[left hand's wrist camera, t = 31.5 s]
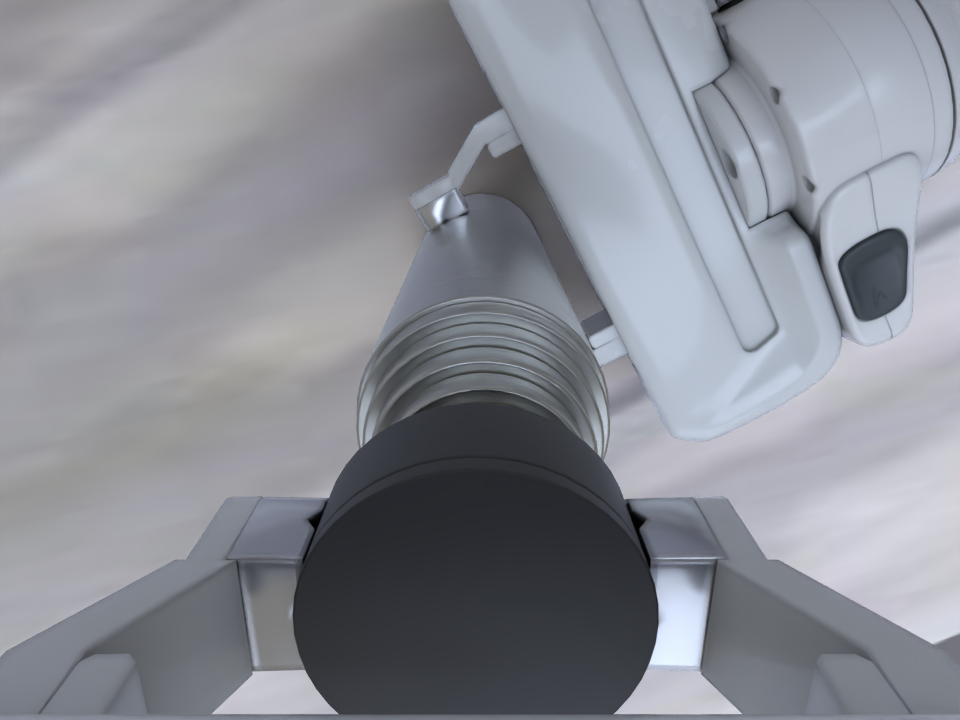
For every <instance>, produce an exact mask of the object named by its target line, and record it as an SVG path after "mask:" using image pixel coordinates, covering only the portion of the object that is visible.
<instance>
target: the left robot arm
mask: <svg viewBox="0 0 960 720" xmlns="http://www.w3.org/2000/svg"><path fill="white" fill-rule="evenodd" d="M328 500H329V498H293V497H264V498H263V497H261V496H258V497H231V498H227V499H226V500H225V501H224V503H223V504H222V506H221V507H220V509H219V510H218V512H217V513H216V515H215V516H214V518H213V519H212V521H211V522H210V524H209V525H208V527H207V528H206V530H205V531H204V533H203V535H202V536H201V538H200V539H199V541H198V542H197V544H196V545H195V547H194V548H193V550H192V551H191V553H190V554H189V556H188V557H187V559H186V560H174V561H172V562H170V563H169V564H167V565H165V566H163V567H161V568H159V569H158V570H156V571H154V572H152V573H150V574H148V575H146V576H145V577H143V578H141V579H139V580H137V581H135V582H133V583H132V584H130V585H128V586H126V587H124V588H122V589H120V590H119V591H117V592H115V593H113V594H111V595H109V596H108V597H106V598H104V599H102V600H100V601H98V602H96V603H95V604H93V605H91V606H89V607H87V608H85V609H83V610H82V611H80V612H78V613H76V614H74V615H72V616H70V617H69V618H67V619H65V620H63V621H61V622H59V623H57V624H56V625H54V626H52V627H50V628H48V629H46V630H45V631H43V632H41V633H39V634H37V635H35V636H33V637H32V638H30V639H28V640H26V641H24V642H22V643H20V644H19V645H17V646H15V647H13V648H11V649H9V650H7V651H6V652H5V653H4V654H3V655H2V657H1V658H0V720H960V667H959V666H958V665H957V663H956V662H955V661H954V660H953V659H952V658H951V656H950V655H949V654H948V653H947V652H946V651H944V650H942V649H940V648H938V647H936V646H935V645H933V644H931V643H929V642H927V641H925V640H924V639H922V638H920V637H918V636H916V635H914V634H913V633H911V632H909V631H907V630H905V629H904V628H902V627H900V626H898V625H896V624H894V623H893V622H891V621H889V620H887V619H885V618H883V617H882V616H880V615H878V614H876V613H874V612H872V611H871V610H869V609H867V608H865V607H863V606H861V605H860V604H858V603H856V602H854V601H852V600H850V599H849V598H847V597H845V596H843V595H841V594H840V593H838V592H836V591H834V590H832V589H830V588H829V587H827V586H825V585H823V584H821V583H819V582H818V581H816V580H814V579H812V578H810V577H808V576H807V575H805V574H803V573H801V572H799V571H797V570H796V569H794V568H792V567H790V566H788V565H786V564H785V563H783V562H781V561H779V560H767V558H766V557H765V555H764V554H763V552H762V550H761V549H760V547H759V546H758V544H757V543H756V541H755V540H754V538H753V537H752V535H751V534H750V532H749V531H748V529H747V528H746V526H745V525H744V523H743V521H742V520H741V518H740V517H739V515H738V514H737V512H736V511H735V509H734V508H733V506H732V505H731V503H730V502H729V500H728V499H727V498H725V497H723V496H715V497H687V498H647V499H624V501H625V504H626V506H627V509H628V512H629V515H630V517H631V520H632V523H633V525H634V528H635V531H636V534H637V536H638V539H639V542H640V545H641V547H642V550H643V553H644V555H645V558H646V561H647V564H648V566H649V569H650V572H651V575H652V578H653V580H654V583H655V587H656V593H657V598H658V604H659V626H658V632H657V639H656V644H655V648H654V651H653V654H652V657H651V660H650V663H649V665H648V667H647V669H646V670H673V671H702V672H701V674H702V675H703V676H704V677H705V678H706V679H707V680H708V681H709V682H710V683H711V684H712V685H713V686H714V687H715V688H716V689H717V690H718V691H719V692H720V693H721V694H722V695H723V696H724V697H726V698H727V699H728V700H729V701H730V702H731V703H732V704H733V705H734V706H735V707H736V708H737V709H738V710H739V711H740V712H741V713H742V714H212V713H213V712H214V711H215V710H216V709H217V708H218V707H219V706H220V705H221V704H222V703H223V702H224V701H225V700H226V699H227V698H228V697H229V696H231V695H232V694H233V693H234V692H235V691H236V690H237V689H238V688H239V687H240V686H241V685H242V684H243V683H244V682H245V681H246V680H247V679H248V678H249V677H250V676H252V671H279V670H305V668H304V665H303V663H302V661H301V658H300V656H299V653H298V649H297V645H296V641H295V637H294V628H293V616H292V614H293V602H294V594H295V590H296V586H297V582H298V578H299V575H300V572H301V569H302V567H303V564H304V562H305V559H306V556H307V554H308V551H309V549H310V546H311V544H312V541H313V538H314V536H315V533H316V531H317V528H318V525H319V523H320V520H321V518H322V515H323V512H324V510H325V507H326V505H327V502H328Z"/></svg>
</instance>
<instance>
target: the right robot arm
mask: <svg viewBox="0 0 960 720" xmlns="http://www.w3.org/2000/svg"><path fill="white" fill-rule="evenodd" d="M448 1H449V4H450V7H451V9H452V11H453V13H454V15H455V17H456V19H457V21H458V23H459V25H460V27H461V29H462V31H463V33H464V35H465V37H466V39H467V41H468V43H469V44H470V46H471V48H472V50H473V52H474V54H475V56H476V58H477V60H478V62H479V64H480V66H481V68H482V70H483V72H484V74H485V76H486V78H487V80H488V82H489V84H490V86H491V88H492V90H493V92H494V94H495V96H496V98H497V99H498V101H499V103H500V105H501V107H502V108H501V109H499V110H498V111H496V112H494V113H492V114H491V115H489V116H487V117H486V118H484V119H482V120H481V121H479V122H477V123H476V124H475V125H474V126H473V128H472V130H471V132H470V133H469V135H468V137H467V139H466V140H465V142H464V144H463V146H462V147H461V149H460V151H459V153H458V154H457V156H456V158H455V160H454V161H453V163H452V165H451V167H450V168H449V170H448V172H447V173H448V174H446V175H444V176H442V177H441V178H439V179H437V180H436V181H434V182H432V183H430V184H429V185H427V186H425V187H423V188H422V189H420V190H418V191H417V192H415V193H414V194H413V195H411V196H410V197H409V198H408V199H409V201H410V203H411V205H412V207H413V208H414V210H415V212H416V213H417V215H418V216H419V218H420V220H421V221H422V223H423V225H424V226H425V228H426V230H427V231H428V232H430V231H432V230H435V229H436V228H438V227H439V226H440V225H442V224H443V222H444V220H445V219H453V218H455V217H458V216H460V215H461V214H463V213H465V212H467V211H468V208H467V207H468V203H467V202H466V200H465V198H464V196H463V194H462V192H461V190H460V187H461V186H462V184H463V182H464V180H465V179H466V177H467V175H468V174H469V172H470V170H471V168H472V167H473V165H474V163H475V162H476V160H477V158H478V156H479V155H480V153H481V151H482V150H483V148H484V146H485V145H487V147H488V150H489V152H490V153H491V155H492V157H495V158H497V157H499V156H501V155H503V154H504V153H506V152H508V151H510V150H512V149H513V148H515V147H517V146H519V145H521V147H522V149H523V151H524V153H525V155H526V156H527V158H528V160H529V162H530V164H531V166H532V168H533V170H534V172H535V174H536V176H537V178H538V180H539V182H540V184H541V186H542V188H543V190H544V192H545V194H546V196H547V198H548V200H549V202H550V204H551V206H552V208H553V210H554V212H555V213H556V215H557V217H558V219H559V221H560V223H561V225H562V227H563V229H564V231H565V233H566V235H567V237H568V239H569V241H570V243H571V245H572V247H573V249H574V251H575V253H576V255H577V257H578V259H579V261H580V263H581V265H582V267H583V269H584V270H585V272H586V274H587V276H588V278H589V280H590V282H591V284H592V286H593V288H594V290H595V292H596V294H597V296H598V298H599V300H600V302H601V304H602V306H603V308H604V310H603V311H601V312H599V313H597V314H595V315H593V316H591V317H590V318H588V319H586V320H584V321H582V324H581V325H582V327H583V329H584V331H585V333H586V334H585V335H586V337H587V339H588V342H589V344H590V346H591V348H592V350H593V352H594V354H595V356H596V358H597V361H598V363H599V365H600V366H603V365H605V364H607V363H609V362H611V361H613V360H615V359H617V358H620V357H622V356H624V355H626V354H627V355H628V357H629V359H630V361H631V363H632V365H633V367H634V369H635V371H636V373H637V375H638V377H639V379H640V381H641V383H642V384H643V386H644V388H645V390H646V392H647V394H648V396H649V398H650V400H651V402H652V404H653V406H654V408H655V410H656V412H657V414H658V416H659V417H660V419H661V421H662V423H663V425H664V426H665V428H666V429H667V431H668V432H669V434H670V435H671V436H672V437H674V438H677V439H682V440H689V441H698V442H703V441H708V440H712V439H715V438H717V437H719V436H722V435H724V434H726V433H729V432H731V431H733V430H735V429H737V428H739V427H741V426H743V425H745V424H747V423H749V422H751V421H753V420H755V419H757V418H759V417H761V416H762V415H764V414H766V413H768V412H770V411H772V410H773V409H775V408H777V407H779V406H781V405H782V404H784V403H786V402H787V401H789V400H791V399H793V398H794V397H796V396H798V395H799V394H801V393H802V392H804V391H806V390H807V389H809V388H810V387H811V386H813V385H814V384H815V383H817V382H818V381H819V380H820V379H821V378H822V377H824V376H825V375H826V374H827V372H828V371H829V370H830V369H831V368H832V366H833V365H834V363H835V362H836V360H837V358H838V355H839V353H840V349H841V345H842V337H844V338H846V339H848V340H851V341H853V342H855V343H857V344H860V345H862V346H873V345H877V344H880V343H883V342H885V341H887V340H890V339H892V338H894V337H896V336H897V335H899V334H900V333H902V332H903V331H904V330H905V329H906V328H907V327H908V325H909V323H910V320H911V317H912V311H913V278H914V250H915V234H916V223H917V213H918V205H919V198H920V191H921V183H922V181H924V180H926V179H927V178H929V177H931V176H933V175H935V174H936V173H937V172H939V171H940V170H942V169H943V168H944V167H945V166H946V165H948V164H949V163H950V162H951V161H953V160H954V159H955V158H956V157H958V156H959V155H960V0H448ZM718 7H719V8H720V9H719V10H718ZM716 10H718V13H717V14H715V15H711V13H713V12H714V11H716Z"/></svg>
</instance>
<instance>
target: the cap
mask: <svg viewBox="0 0 960 720" xmlns="http://www.w3.org/2000/svg"><path fill="white" fill-rule="evenodd" d="M292 616H293V628H294V637H295V641H296V645H297V649H298V653H299V656H300V658H301V661H302V663H303V665H304V668H305V670H306V673H307V674H308V676H309V677H310V679H311V681H312V682H313V684H314V686H315V687H316V689H317V690H318V692H319V693H320V694H321V695H322V697H323V698H324V699H325V700H326V701H327V703H328V704H329V705H330V706H331V707H332V708H333V709H334V710H335V711H336V712H337V713H338V714H614V713H615V712H616V711H617V710H618V709H619V708H620V707H621V706H622V705H623V703H624V702H625V701H626V700H627V699H628V698H629V697H630V696H631V694H632V693H633V691H634V690H635V688H636V687H637V685H638V684H639V682H640V681H641V679H642V677H643V675H644V673H645V671H646V669H647V667H648V665H649V663H650V660H651V657H652V654H653V651H654V648H655V644H656V639H657V632H658V626H659V604H658V598H657V593H656V587H655V583H654V580H653V578H652V575H651V572H650V569H649V566H648V564H647V561H646V558H645V555H644V553H643V550H642V547H641V545H640V542H639V539H638V536H637V534H636V531H635V528H634V525H633V523H632V520H631V517H630V515H629V512H628V509H627V506H626V504H625V501H624V498H623V496H622V493H621V490H620V487H619V485H618V484H617V482H616V480H615V478H614V476H613V474H612V472H611V471H610V469H609V468H608V467H607V465H606V464H605V463H604V461H603V460H602V459H601V457H600V456H599V455H598V454H597V453H596V452H595V451H594V450H593V449H592V448H591V447H590V446H589V445H588V444H587V443H586V442H585V441H583V440H582V439H581V438H579V437H578V436H577V435H575V434H574V433H573V432H572V431H570V430H568V429H567V428H565V427H563V426H561V425H560V424H558V423H556V422H554V421H553V420H550V419H548V418H545V417H543V416H541V415H538V414H536V413H533V412H530V411H526V410H522V409H519V408H515V407H511V406H504V405H497V404H485V403H466V404H456V405H447V406H443V407H438V408H434V409H429V410H426V411H423V412H420V413H417V414H414V415H411V416H409V417H406V418H404V419H402V420H400V421H398V422H396V423H394V424H392V425H390V426H389V427H387V428H386V429H384V430H383V431H381V432H380V433H378V434H377V435H375V436H374V437H373V438H371V439H370V440H369V441H368V442H367V443H366V444H365V445H364V446H363V447H361V448H360V449H359V450H358V451H357V452H356V454H355V455H354V456H353V457H352V458H351V460H350V461H349V462H348V463H347V464H346V466H345V468H344V469H343V471H342V472H341V474H340V476H339V477H338V479H337V481H336V483H335V485H334V488H333V490H332V492H331V495H330V497H329V500H328V502H327V505H326V507H325V510H324V512H323V515H322V518H321V520H320V523H319V525H318V528H317V531H316V533H315V536H314V538H313V541H312V544H311V546H310V549H309V551H308V554H307V556H306V559H305V562H304V564H303V567H302V569H301V572H300V575H299V578H298V582H297V586H296V590H295V594H294V602H293V614H292Z"/></svg>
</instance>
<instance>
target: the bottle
mask: <svg viewBox="0 0 960 720" xmlns="http://www.w3.org/2000/svg"><path fill="white" fill-rule="evenodd" d="M464 198H465V200H466V202H467V203H468V207H467V208H468V211H467V212H465V213H463V214H461V215H460V216H458V217H455V218H453V219H445V220H444V222H443V224H442V225H440V226H439V227H438V228H436V229H435V230H432V231H430V232H428V231H427V232H426V234H425V236H424V239H423V241H422V243H421V245H420V248H419V250H418V252H417V254H416V256H415V259H414V261H413V263H412V265H411V268H410V270H409V272H408V274H407V277H406V279H405V281H404V283H403V285H402V288H401V290H400V292H399V294H398V297H397V299H396V301H395V303H394V305H393V308H392V310H391V312H390V314H389V317H388V319H387V321H386V323H385V326H384V328H383V330H382V332H381V334H380V337H379V339H378V341H377V343H376V346H375V348H374V350H373V352H372V355H371V357H370V359H369V361H368V363H367V366H366V368H365V371H364V374H363V376H362V379H361V382H360V387H359V392H358V397H357V438H358V445H359V449H360V448H361V447H363V446H364V445H365V444H366V443H367V442H368V441H369V440H370V439H371V438H373V437H374V436H375V435H377V434H378V433H380V432H381V431H383V430H384V429H386V428H387V427H389V426H390V425H392V424H394V423H396V422H398V421H400V420H402V419H404V418H406V417H409V416H411V415H414V414H417V413H420V412H423V411H426V410H429V409H434V408H438V407H443V406H447V405H456V404H466V403H485V404H497V405H504V406H511V407H515V408H519V409H522V410H526V411H530V412H533V413H536V414H538V415H541V416H543V417H545V418H548V419H550V420H553V421H554V422H556V423H558V424H560V425H561V426H563V427H565V428H567V429H568V430H570V431H572V432H573V433H574V434H575V435H577V436H578V437H579V438H581V439H582V440H583V441H585V442H586V443H587V444H588V445H589V446H590V447H591V448H592V449H593V450H594V451H595V452H596V453H597V454H598V455H599V456H600V457H601V459H602V460H603V461H604V458H605V455H606V452H607V447H608V441H609V436H610V416H609V407H610V406H609V397H608V390H607V386H606V382H605V378H604V375H603V372H602V370H601V368H600V365H599V363H598V361H597V358H596V356H595V354H594V352H593V350H592V348H591V346H590V344H589V342H588V339H587V337H586V335H585V333H584V331H583V329H582V327H581V325H580V323H579V321H578V318H577V316H576V314H575V312H574V310H573V308H572V306H571V304H570V302H569V300H568V297H567V295H566V293H565V291H564V289H563V287H562V285H561V283H560V281H559V278H558V276H557V274H556V272H555V270H554V268H553V266H552V264H551V262H550V260H549V257H548V255H547V253H546V251H545V249H544V247H543V245H542V243H541V241H540V238H539V236H538V234H537V232H536V230H535V228H534V226H533V224H532V222H531V221H530V219H529V218H528V216H527V215H526V214H525V212H524V211H523V210H521V209H520V208H519V207H518V206H517V205H516V204H514V203H513V202H511V201H509V200H507V199H505V198H503V197H500V196H497V195H493V194H485V193H478V194H470V195H466V196H464Z"/></svg>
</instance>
